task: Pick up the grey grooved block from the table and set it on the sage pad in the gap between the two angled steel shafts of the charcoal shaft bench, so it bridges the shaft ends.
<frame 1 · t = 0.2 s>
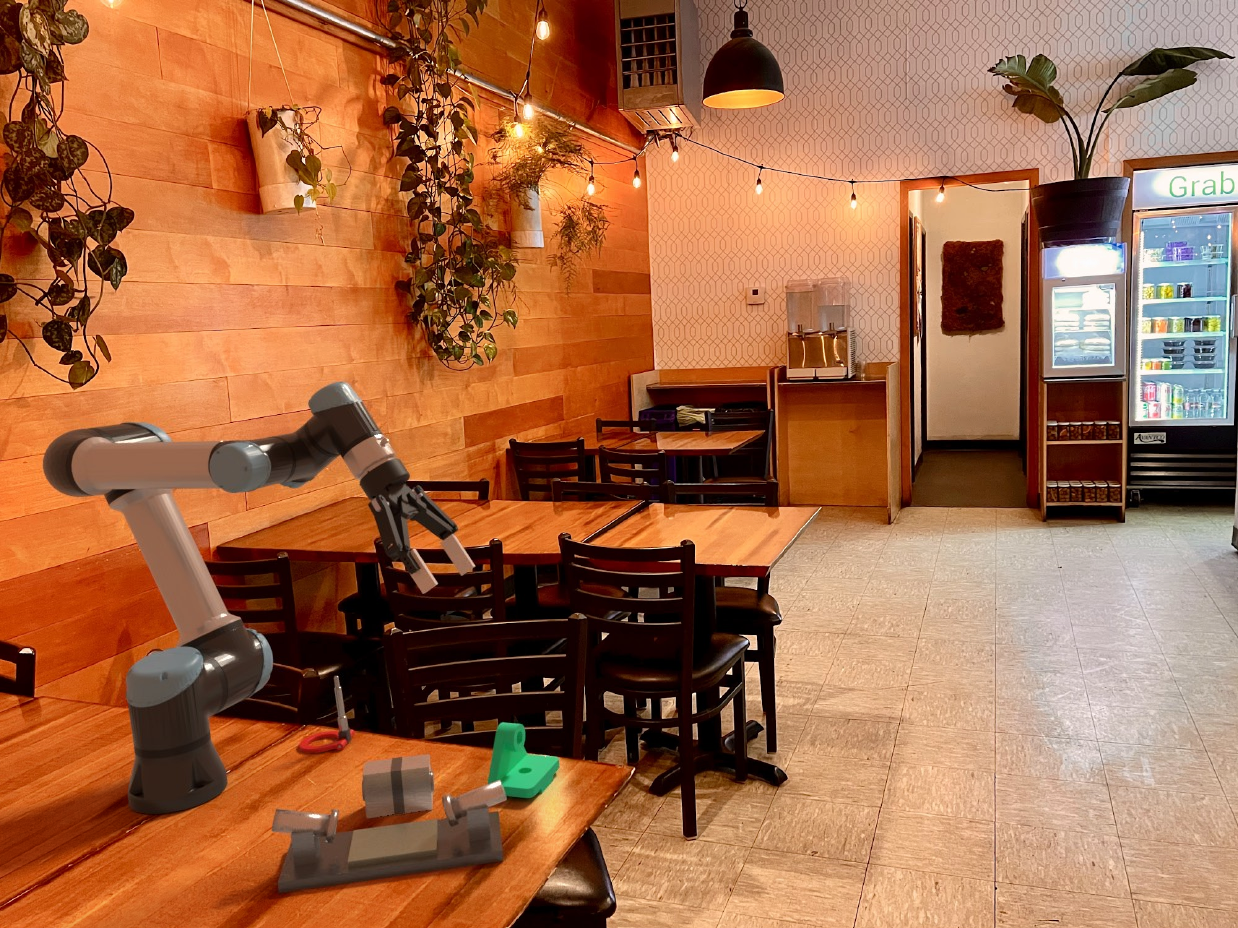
hand: (450, 579, 157), 34 cm above the table, tool tilted 35°, fingers open, 13 cm apart
camera mount: (526, 786, 161), on the table
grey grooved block: (400, 806, 155), on the table
tow hook: (325, 745, 182), on the table
shaft bench: (395, 854, 141), on the table
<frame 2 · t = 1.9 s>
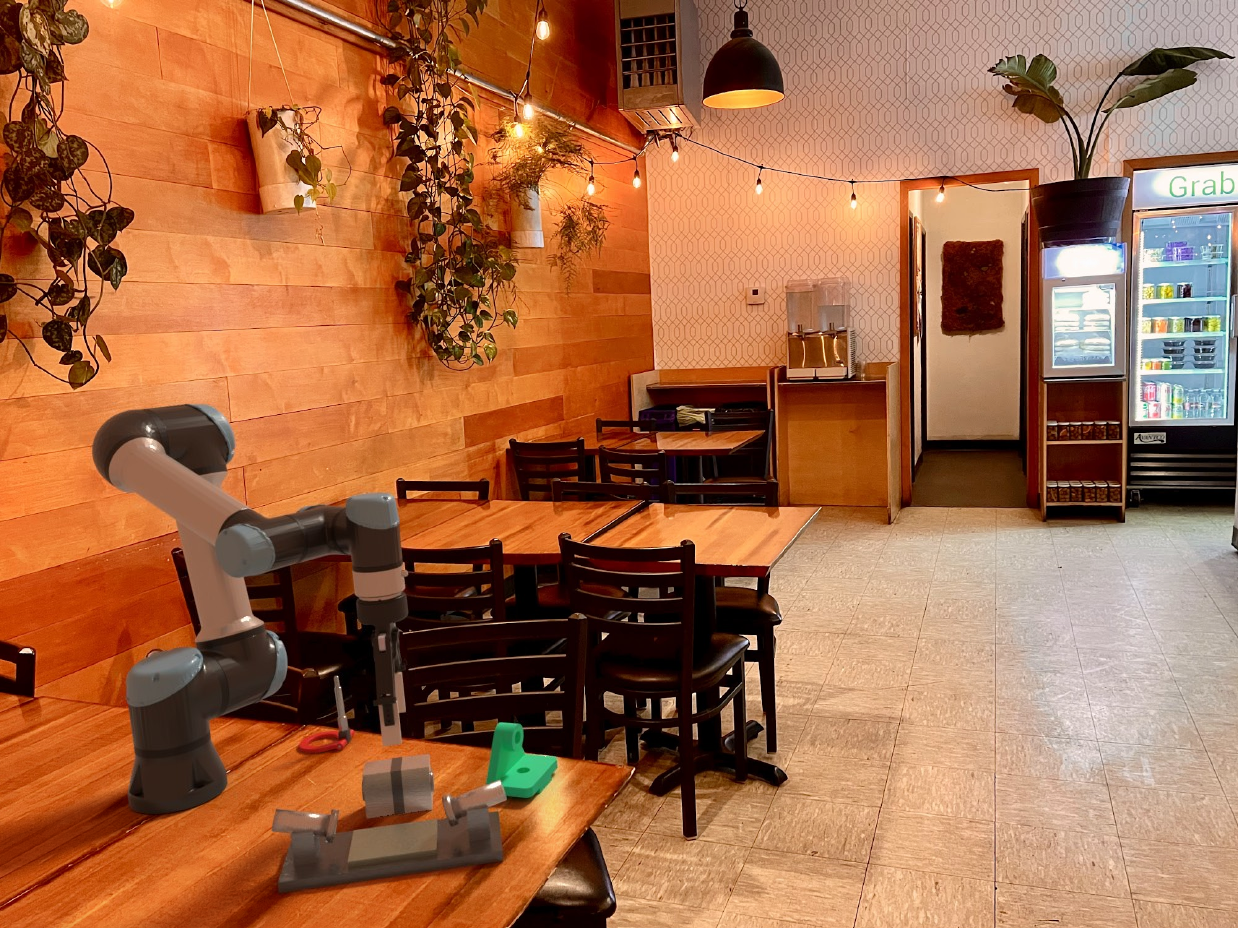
hand: (394, 727, 154), 13 cm above the table, tool pointing down, fingers open, 13 cm apart
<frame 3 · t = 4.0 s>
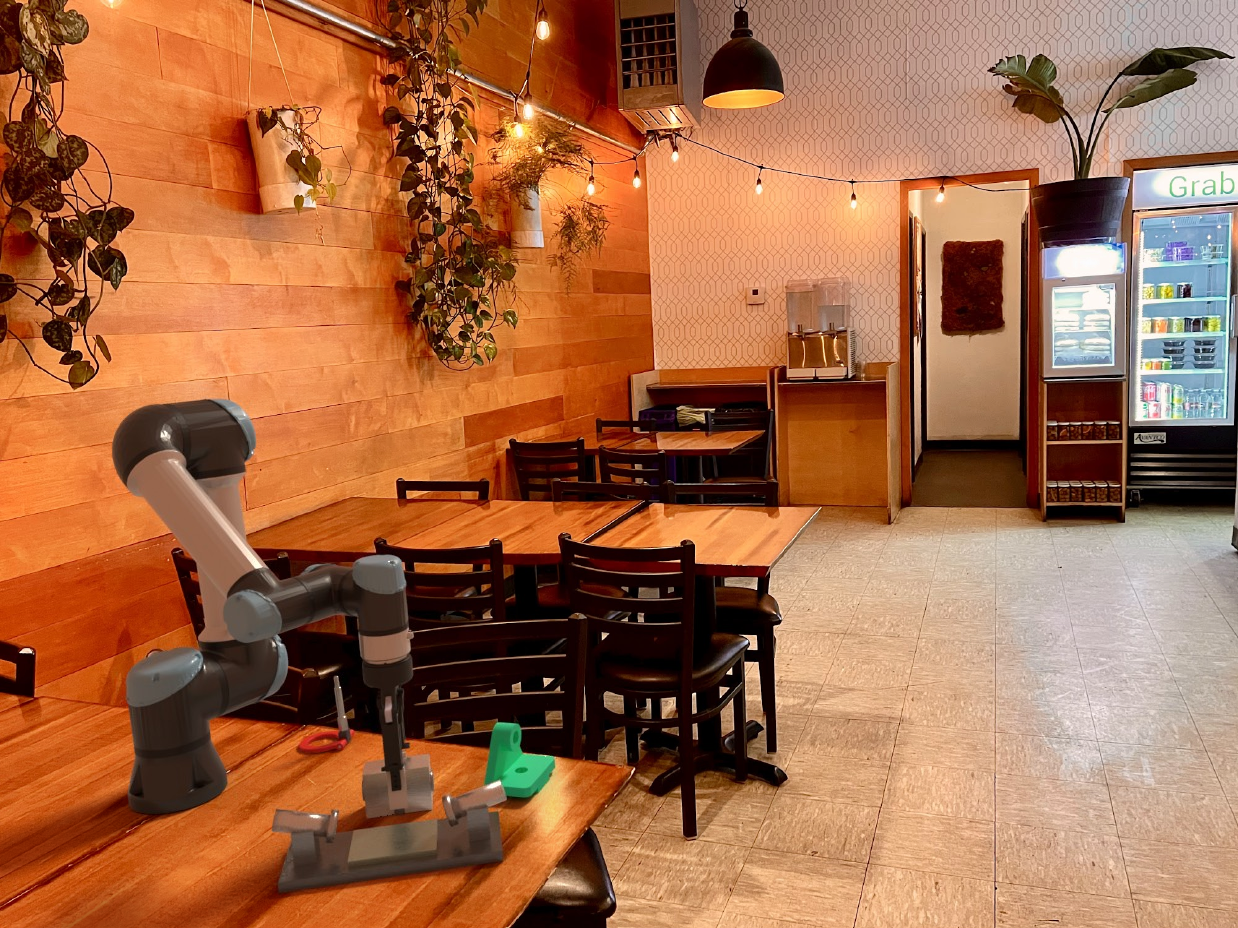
hand: (399, 798, 155), 1 cm above the table, tool pointing down, fingers closed on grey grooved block, 5 cm apart
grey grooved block: (400, 806, 155), on the table, touching gripper
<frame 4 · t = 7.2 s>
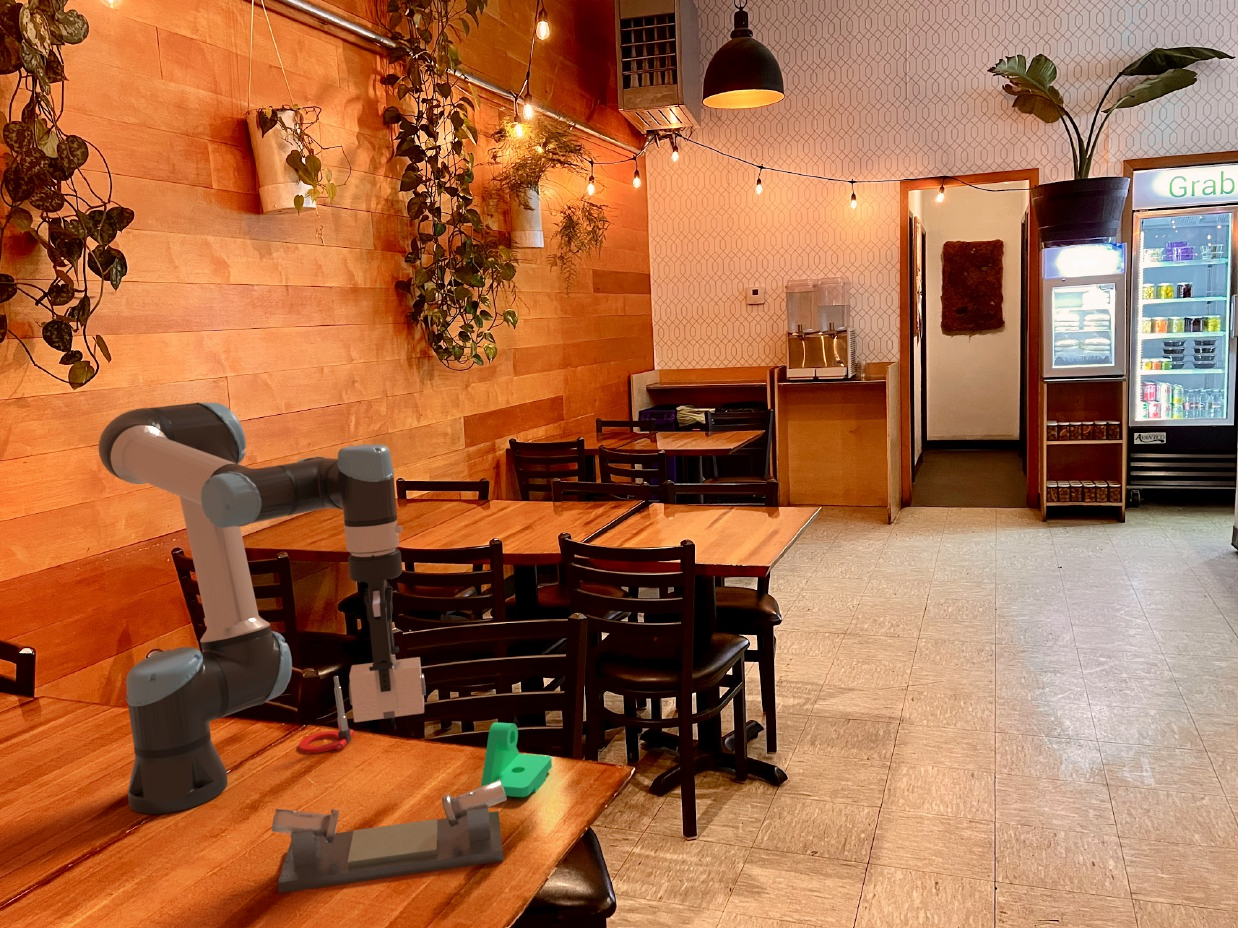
hand: (389, 703, 147), 19 cm above the table, tool pointing down, fingers closed on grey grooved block, 5 cm apart
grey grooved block: (390, 711, 147), point 18 cm above the table, touching gripper
when the fingers open (5 cm above the table, at t = 10.5 s): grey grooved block stays where it is, resting on shaft bench.
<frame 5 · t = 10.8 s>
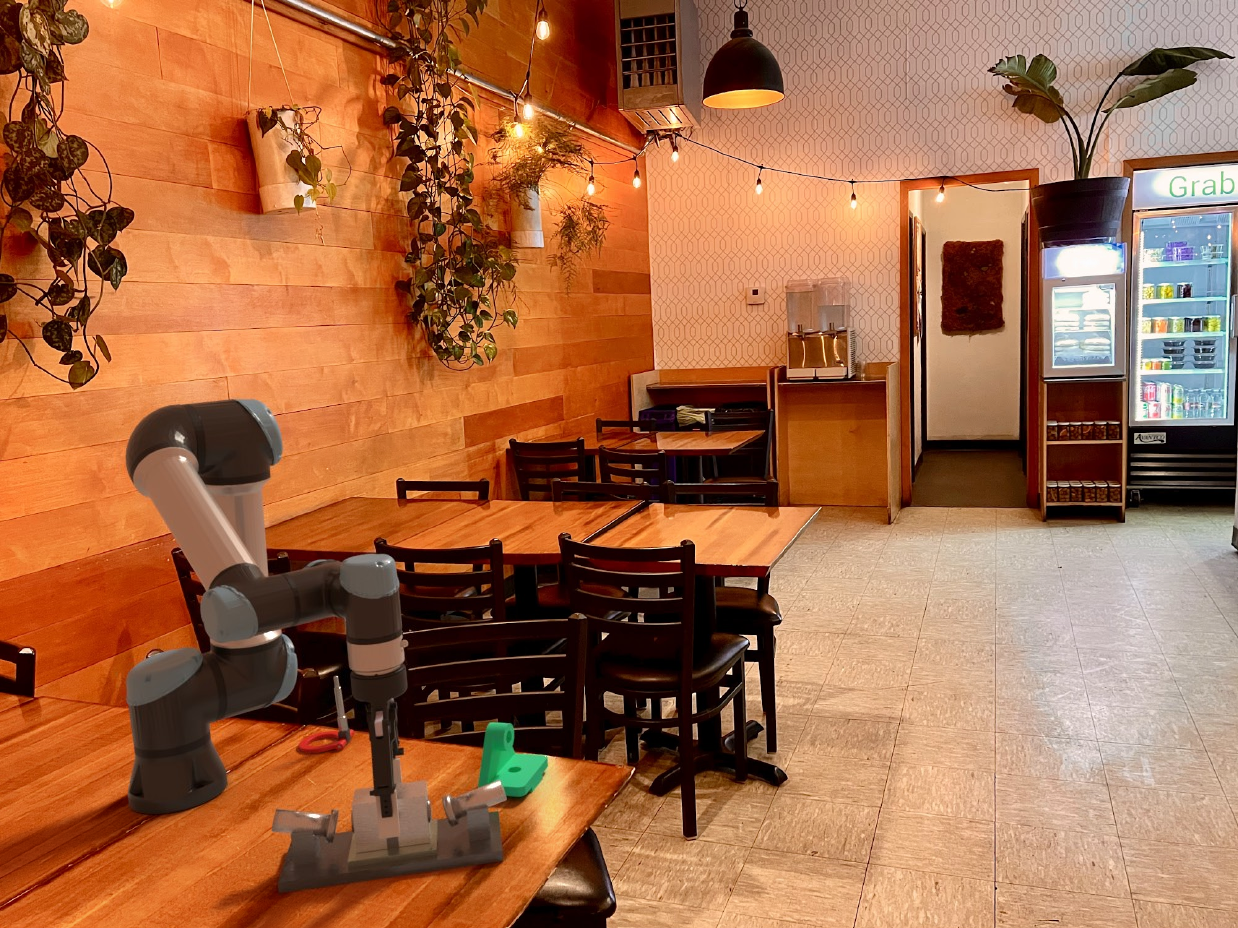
hand: (392, 818, 140), 5 cm above the table, tool pointing down, fingers open, 10 cm apart
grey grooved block: (394, 838, 140), point 2 cm above the table, touching shaft bench
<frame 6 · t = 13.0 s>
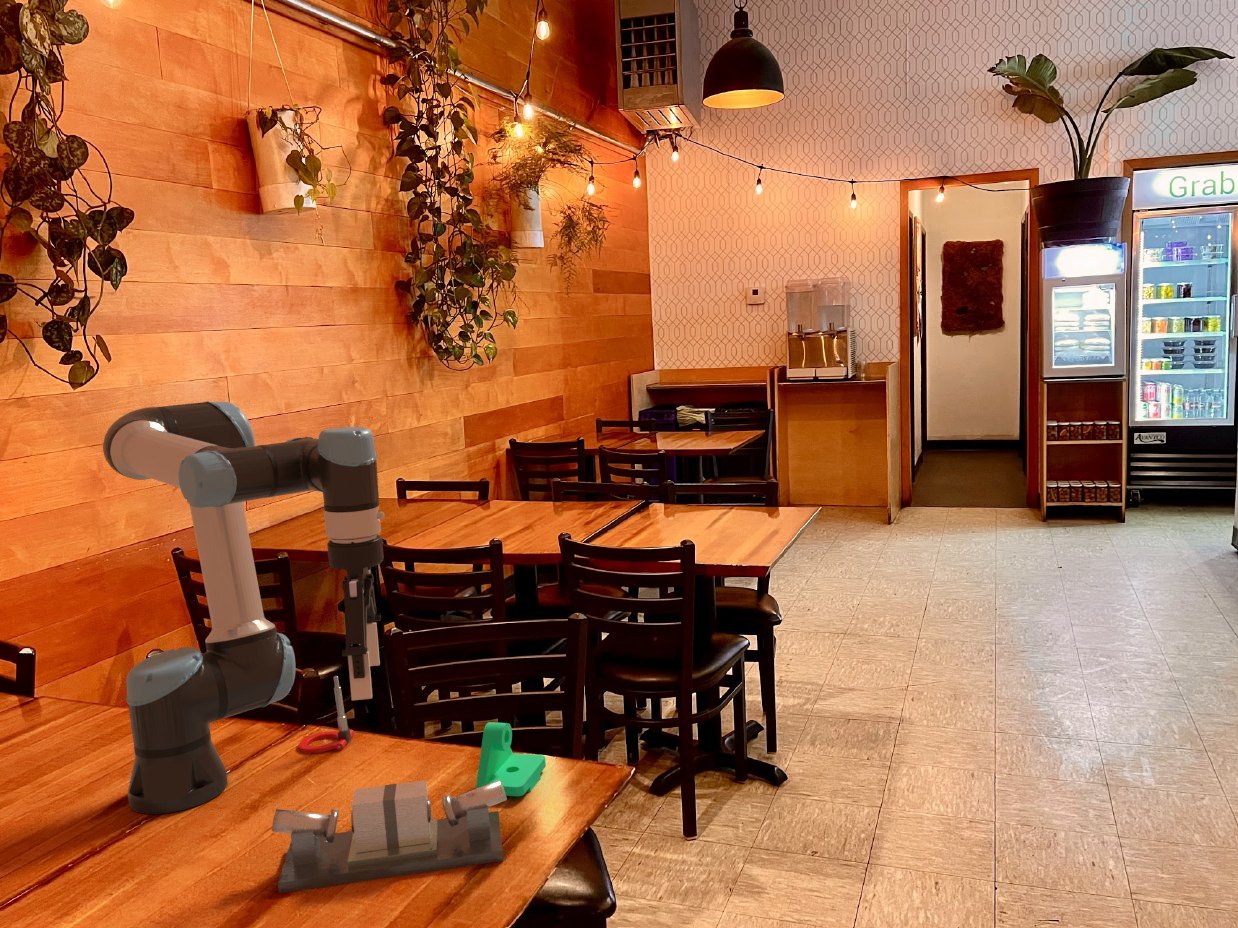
hand: (366, 681, 143), 24 cm above the table, tool pointing down, fingers open, 13 cm apart
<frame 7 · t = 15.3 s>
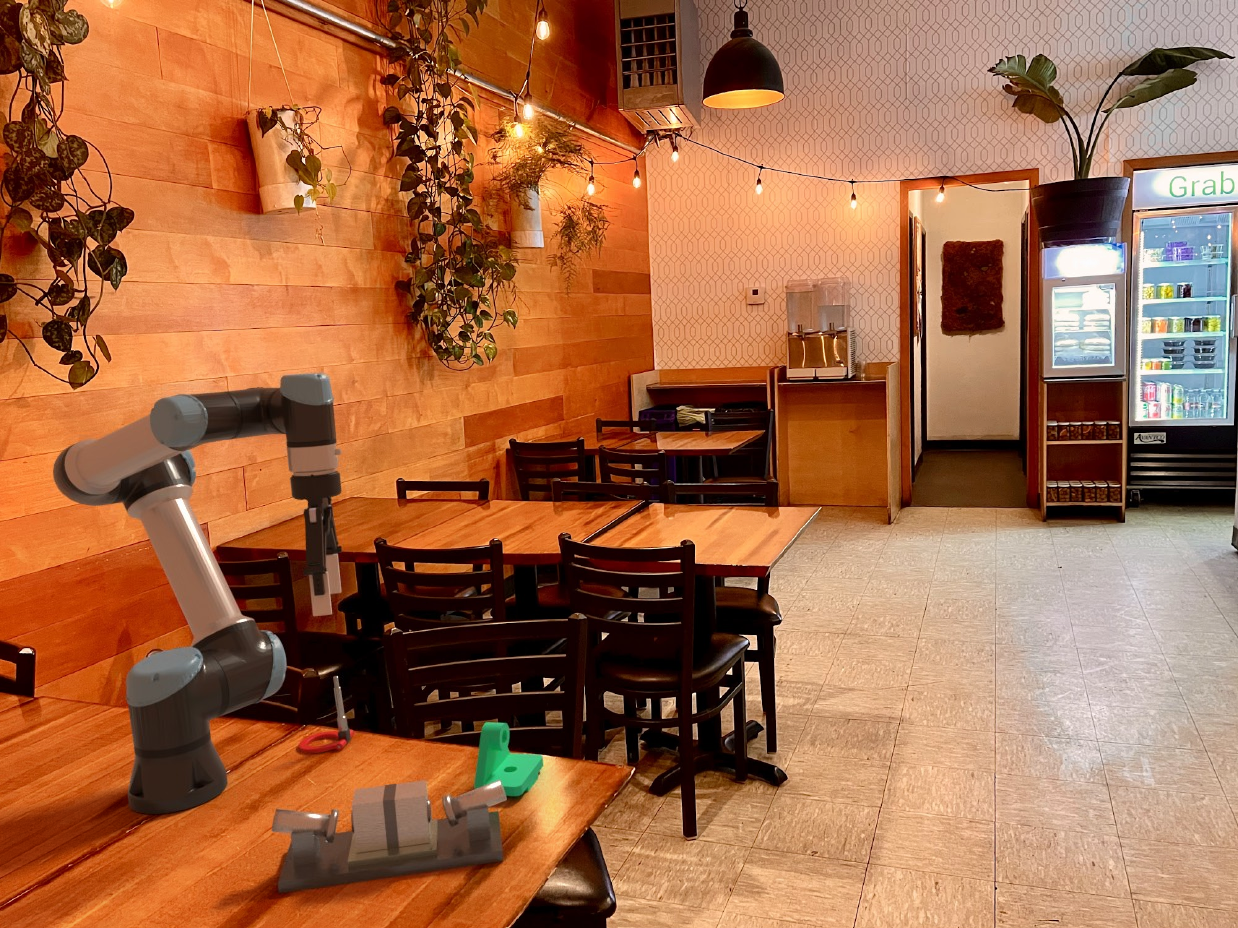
hand: (327, 603, 158), 32 cm above the table, tool pointing down, fingers open, 13 cm apart
at the end: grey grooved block 0.0 cm off-centre on the shaft bench, point 2.3 cm above the shaft bench's base; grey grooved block tilted 0°; the gripper is holding nothing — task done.
